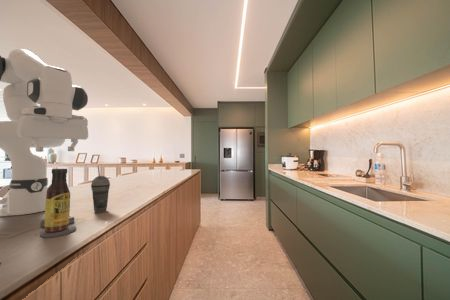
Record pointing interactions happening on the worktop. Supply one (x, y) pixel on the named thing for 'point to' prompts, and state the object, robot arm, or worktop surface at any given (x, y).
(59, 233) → the mat
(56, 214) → the sauce bottle
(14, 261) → the worktop surface
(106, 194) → the beverage cup
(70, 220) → the button housing
